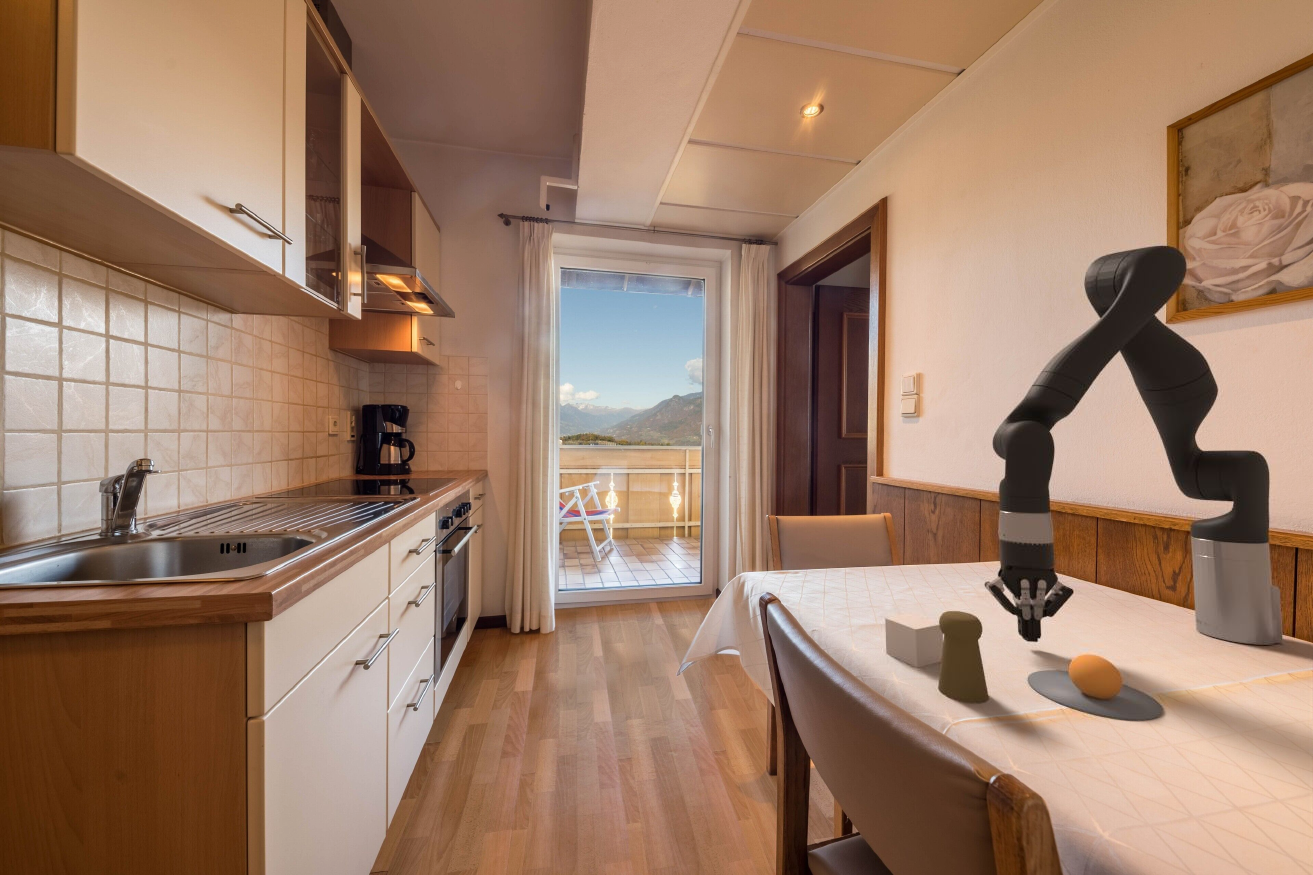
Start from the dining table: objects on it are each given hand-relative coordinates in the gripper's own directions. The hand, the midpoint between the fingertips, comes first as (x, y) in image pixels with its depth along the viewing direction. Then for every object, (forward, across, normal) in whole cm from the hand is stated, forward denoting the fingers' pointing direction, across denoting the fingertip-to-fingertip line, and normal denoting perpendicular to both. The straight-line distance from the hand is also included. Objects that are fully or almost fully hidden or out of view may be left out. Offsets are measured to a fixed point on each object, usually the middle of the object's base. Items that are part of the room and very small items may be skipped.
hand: (1030, 639), depth 84 cm
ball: (-1, 0, -17) cm, 17 cm away
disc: (+2, 0, -16) cm, 16 cm away
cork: (+2, -17, -19) cm, 26 cm away
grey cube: (+2, -20, -7) cm, 21 cm away
